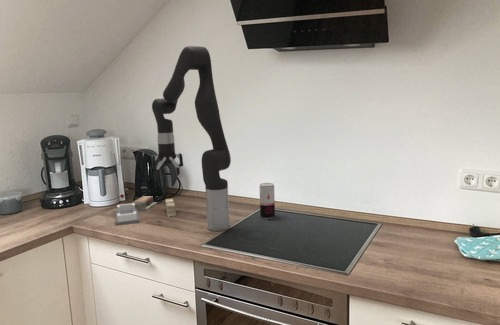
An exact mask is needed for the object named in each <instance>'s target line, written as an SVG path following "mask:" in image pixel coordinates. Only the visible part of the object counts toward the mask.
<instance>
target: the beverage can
mask: <svg viewBox="0 0 500 325" xmlns="http://www.w3.org/2000/svg"><path fill="white" fill-rule="evenodd" d="M275 208H276V207H275V184H274V183H272V182H263V183H262V182H261V183H260V184H259V210H260V211H259V216H260V217H261V218H262V219H264V220H268V219H271V220H272V219H274V217H275V216H276V214H275V213H276V212H275V211H276V209H275Z"/></svg>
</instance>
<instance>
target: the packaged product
mask: <svg viewBox="0 0 500 325" xmlns="http://www.w3.org/2000/svg"><path fill="white" fill-rule="evenodd" d="M132 203H135V209H137V211H149V210H151V209H152V208H154V207H155V206H156V205H157V203H158V202H153V196H144V195H142V196H141V197H139V198H137V199H136V200H134V201H133V202H132ZM158 204H159V203H158Z"/></svg>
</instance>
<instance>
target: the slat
mask: <svg viewBox="0 0 500 325" xmlns="http://www.w3.org/2000/svg"><path fill="white" fill-rule="evenodd" d="M164 201H165V211H166V214H167V217H168V218H171V217H170V216H173V217H176V216H177V212H176V205H175V202H174V198H165V200H164Z"/></svg>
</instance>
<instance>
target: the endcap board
mask: <svg viewBox="0 0 500 325" xmlns="http://www.w3.org/2000/svg"><path fill="white" fill-rule="evenodd" d="M116 208H117V210H115V226H120V225H121V226H122V225H128V224H136V223H140V216H139V212H138V211H139V210H137V209H135V203H133V202H131V203H122V204H117V205H116Z"/></svg>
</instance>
